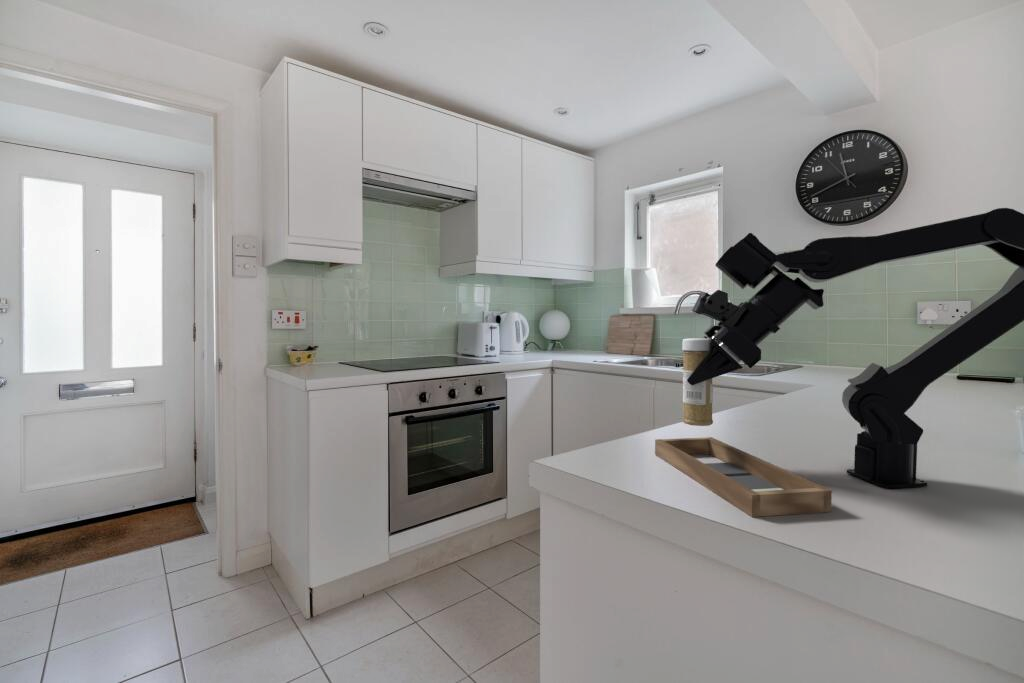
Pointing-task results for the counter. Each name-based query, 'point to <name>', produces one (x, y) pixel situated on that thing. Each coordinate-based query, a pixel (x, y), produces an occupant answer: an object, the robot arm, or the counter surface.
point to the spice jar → (696, 385)
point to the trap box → (790, 500)
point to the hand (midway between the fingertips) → (688, 381)
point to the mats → (741, 476)
